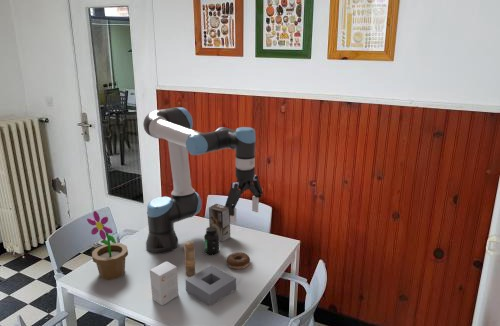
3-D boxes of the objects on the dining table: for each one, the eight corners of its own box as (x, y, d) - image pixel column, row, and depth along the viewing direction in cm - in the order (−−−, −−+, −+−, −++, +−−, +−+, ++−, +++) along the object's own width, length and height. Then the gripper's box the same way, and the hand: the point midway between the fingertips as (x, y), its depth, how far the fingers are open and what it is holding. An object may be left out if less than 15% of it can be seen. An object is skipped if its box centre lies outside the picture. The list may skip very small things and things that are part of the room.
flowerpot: (86, 278, 160) (77, 211, 151) (110, 260, 173) (103, 198, 164) (114, 285, 155) (106, 217, 146) (136, 267, 168) (130, 203, 159)
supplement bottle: (204, 256, 176) (204, 232, 173) (204, 248, 183) (203, 226, 179) (219, 255, 178) (219, 231, 174) (218, 247, 184) (218, 225, 180)
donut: (247, 272, 165) (247, 264, 164) (223, 269, 167) (223, 261, 166) (252, 259, 175) (252, 251, 174) (229, 256, 177) (229, 248, 176)
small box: (168, 289, 153) (166, 260, 149) (179, 295, 149) (177, 266, 145) (151, 299, 147) (149, 269, 143) (162, 306, 143) (159, 275, 139)
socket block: (186, 290, 152) (185, 279, 151) (212, 275, 162) (211, 265, 161) (210, 306, 143) (209, 294, 142) (236, 289, 153) (236, 278, 152)
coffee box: (231, 236, 195) (230, 207, 190) (223, 241, 190) (222, 211, 185) (217, 231, 200) (216, 203, 195) (208, 236, 195) (208, 207, 190)
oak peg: (183, 273, 163) (181, 244, 159) (191, 269, 166) (189, 240, 162) (189, 277, 161) (188, 247, 156) (197, 273, 164) (196, 243, 160)
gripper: (230, 177, 138) (230, 230, 145) (272, 162, 157) (270, 209, 163) (215, 172, 143) (216, 224, 150) (257, 158, 161) (256, 204, 168)
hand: (244, 216), depth 156 cm, fingers open, 13 cm apart
